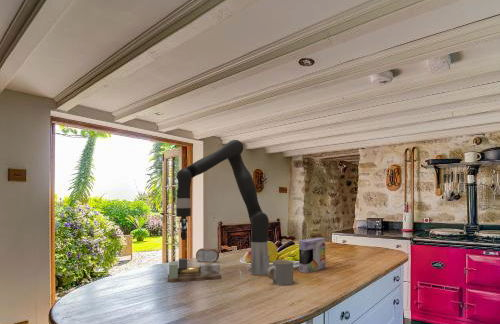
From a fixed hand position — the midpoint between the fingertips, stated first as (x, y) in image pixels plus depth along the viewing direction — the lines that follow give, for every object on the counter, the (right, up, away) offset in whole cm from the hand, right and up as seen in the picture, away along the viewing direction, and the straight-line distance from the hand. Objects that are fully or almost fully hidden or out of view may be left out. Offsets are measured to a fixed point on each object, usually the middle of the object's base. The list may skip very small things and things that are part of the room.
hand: (183, 238), depth 176 cm
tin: (+7, -25, +43) cm, 50 cm away
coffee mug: (+49, -20, -10) cm, 54 cm away
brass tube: (+4, -18, -1) cm, 18 cm away
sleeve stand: (+6, -20, -1) cm, 21 cm away
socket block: (-5, -18, -3) cm, 19 cm away
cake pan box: (+70, -22, +17) cm, 75 cm away
